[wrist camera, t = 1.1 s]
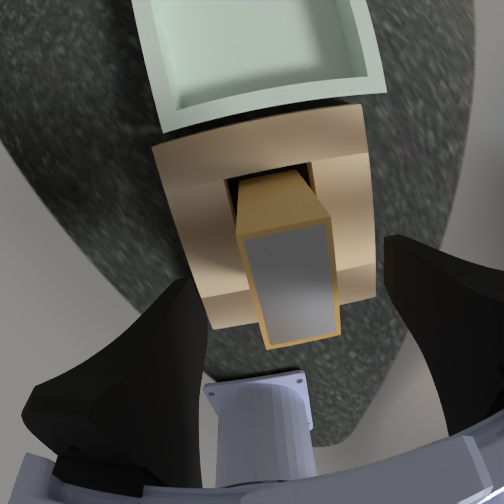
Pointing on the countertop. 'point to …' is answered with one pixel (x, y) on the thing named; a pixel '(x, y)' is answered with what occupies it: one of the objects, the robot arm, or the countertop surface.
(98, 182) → the countertop surface
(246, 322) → the wooden frame
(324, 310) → the tan rectangular block
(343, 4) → the parts tray
